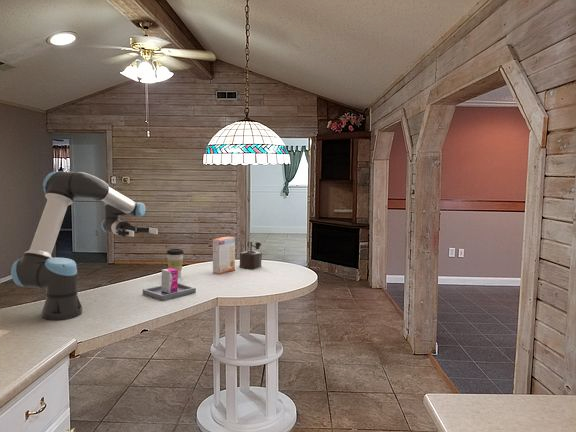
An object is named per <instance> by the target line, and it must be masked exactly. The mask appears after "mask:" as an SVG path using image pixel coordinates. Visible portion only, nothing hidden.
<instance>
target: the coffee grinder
mask: <svg viewBox="0 0 576 432" xmlns="http://www.w3.org/2000/svg"><path fill="white" fill-rule="evenodd" d="M249 243H250V244H249V245H250V248H249V249H247V250H245V251H243V252H239V268H241V269H246V270H247V269H248V270H256V269H259V268H258V267H260V268H261V267H262V257H263V256H262V254H263V253H262V252H259V251H256V250H260V247H261V246H262V242H261V241H259V240H258V241H255V243H254V244H253V241H250V242H249ZM253 248H254V249H255V250H254V249H253ZM255 268H256V269H255Z"/></svg>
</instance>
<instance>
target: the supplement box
mask: <svg viewBox="0 0 576 432" xmlns="http://www.w3.org/2000/svg"><path fill="white" fill-rule="evenodd" d="M178 279H179V277H178V270H177V269H172V268H164V269H161V285H160V286H161V292H163V293H167V294H170V293H174V292H177V287H178V283H179V282H178V281H179V280H178Z"/></svg>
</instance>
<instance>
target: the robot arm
mask: <svg viewBox="0 0 576 432" xmlns="http://www.w3.org/2000/svg"><path fill="white" fill-rule="evenodd" d="M42 187H43V192H44V194H45V195H44V197H45V199H46V203H45V206H44V208H43V211H42V214H41V217H40V219H39V223H38V226H37V228H36V230H35V233H34V237H33V239H32V242H31V245H30V247H29V249H28V250H27V251H24V252H23V255H22V258H19V259H16V260H15V261H14V263H13V264H12V265H11V270H10V273H11V278H12V281H13V282H14V284H16V285H17V286H19V287H24V288H27V289H29V288H32V289H42V290H45V291H46V292H45V293H46V298H45V301H44V304H43V307H42V310H41V317H42V318H43V319H44V320H49V321H57V320H58V321H59V320H60V321H61V320H62V321H63V320H68V319H69V320H70V319H72V318H76V317H79V316H80V315H82V314H83V306H82V303H81V301H80V298H79V296H78V268H77V267H78V266H77V262H76V261H75V260H74V259H71V258H66V257H52V253H53V250H54V247H55V244H56V242H57V239H58V236H59V233H60V230H61V227H62V224H63V221H64V217H65V215H66V212H67V209H68V206H71V205H73V204H74V199H75V198H76V199H77V198H79V199H81V198H83V199H84V198H85V199H86V198H87V199H92V200H94V201H101V202H103V203H104V220H102V222H101V224H100V225H101V226H100V228H101V230H102V231H103V232H105V233H107V234H113V235H116V236H117V235H118V236H119V237H121V236H122V237H124V238H125V237H127V236H128V237H133V238H134V237H135V234H138V233H149V234H153V235H158V234H159V233H158V232H159V230H158V228H155V227H154V226H152V225H151V226H140V225H132V224H131V223H130V222H129V221H123V220H120V217H122V216H125V217H135V218H136V217H143V216H144V215H145V213H146V205H145V203H144V202H136V201H134V200H132V199H130V198H129V197H127V196H125V195H124V194H122V193H120V192H119V191H117V190H115V189H114V188H112V187H110V186H109V184H108V183H107V181H104V180H102V179H101V178H99V177H97V176H95V175H92V174H90V173H87V172H83V171H64V170H63V171H62V170H59V171H52V172H49V173H48V174H47V175H46V176H45V178H44V180H43V183H42Z"/></svg>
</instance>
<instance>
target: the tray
mask: <svg viewBox="0 0 576 432" xmlns="http://www.w3.org/2000/svg"><path fill="white" fill-rule="evenodd" d="M196 292H197V288H196V287H194V286H190V285H187V284H184V283H180V282H178V287H177V292H174V293H170V294H167V293H163V292H161V285H157V286H153V287H148V288H143V289H142V295H143V296H145V297H149V298H152V299H154V300H158V301H161V302H164V301H169V300H172V299H173V300H174V299H177V298H180V297H184V296H188V295H192V294H196Z"/></svg>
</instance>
